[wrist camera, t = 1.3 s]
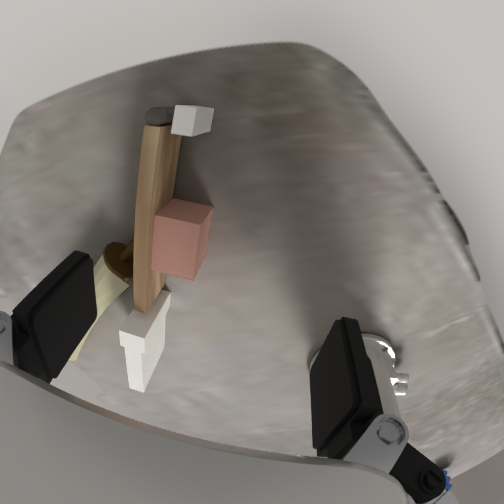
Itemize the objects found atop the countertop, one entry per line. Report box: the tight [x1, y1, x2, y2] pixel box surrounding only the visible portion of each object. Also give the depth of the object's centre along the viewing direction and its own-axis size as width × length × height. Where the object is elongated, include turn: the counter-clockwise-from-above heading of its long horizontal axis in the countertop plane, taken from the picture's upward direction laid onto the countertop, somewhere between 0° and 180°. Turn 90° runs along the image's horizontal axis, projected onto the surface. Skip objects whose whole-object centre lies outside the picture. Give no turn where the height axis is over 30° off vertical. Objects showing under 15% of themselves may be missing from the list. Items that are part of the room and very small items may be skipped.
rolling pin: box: [69, 239, 134, 361], centre depth 38 cm, size 32×6×5 cm, turn 136°
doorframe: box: [119, 105, 215, 393], centre depth 31 cm, size 5×33×9 cm, turn 168°
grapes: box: [441, 469, 452, 491], centre depth 55 cm, size 12×7×12 cm, turn 52°
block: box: [151, 198, 214, 281], centre depth 31 cm, size 4×6×6 cm
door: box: [133, 107, 182, 314], centre depth 29 cm, size 2×21×6 cm, turn 168°
